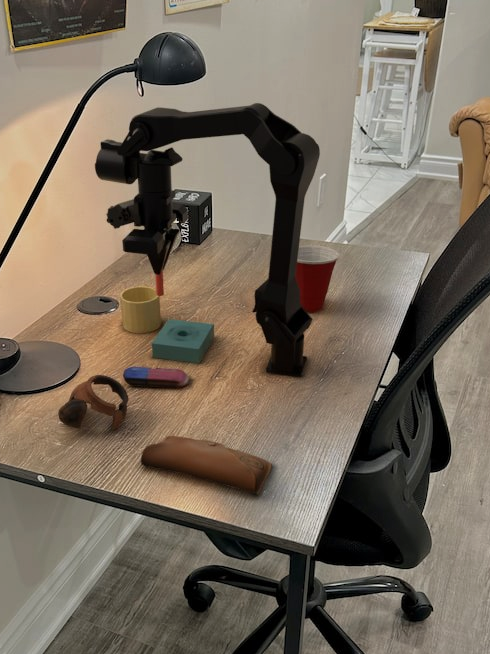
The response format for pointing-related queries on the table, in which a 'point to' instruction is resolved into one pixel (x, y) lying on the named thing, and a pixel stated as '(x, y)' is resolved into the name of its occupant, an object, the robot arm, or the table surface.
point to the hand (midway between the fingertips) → (159, 272)
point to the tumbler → (140, 309)
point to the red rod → (159, 284)
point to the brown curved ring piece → (93, 402)
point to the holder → (183, 341)
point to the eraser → (155, 377)
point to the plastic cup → (314, 275)
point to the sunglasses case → (208, 462)
